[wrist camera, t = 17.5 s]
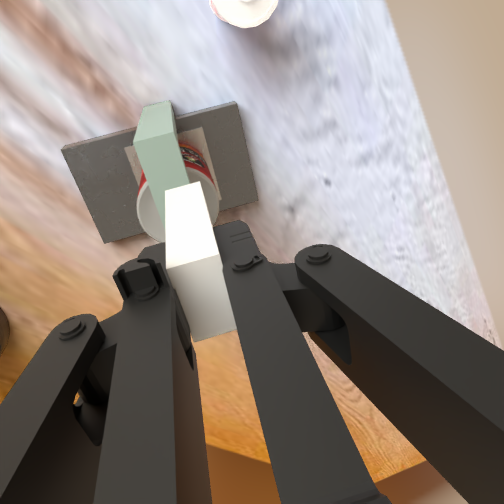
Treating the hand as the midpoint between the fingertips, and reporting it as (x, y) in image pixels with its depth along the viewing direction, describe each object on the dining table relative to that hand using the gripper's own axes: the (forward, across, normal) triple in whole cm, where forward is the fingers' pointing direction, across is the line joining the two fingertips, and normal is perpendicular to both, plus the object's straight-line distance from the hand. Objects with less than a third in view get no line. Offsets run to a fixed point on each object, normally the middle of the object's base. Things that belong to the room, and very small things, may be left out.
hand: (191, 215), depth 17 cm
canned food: (+30, -2, -7) cm, 31 cm away
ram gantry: (+32, -2, -7) cm, 33 cm away
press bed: (+32, -3, -7) cm, 33 cm away
